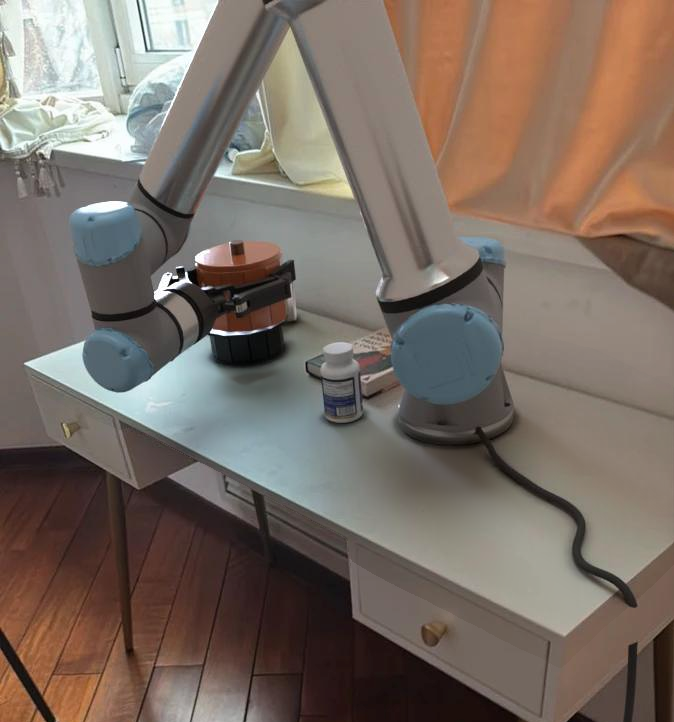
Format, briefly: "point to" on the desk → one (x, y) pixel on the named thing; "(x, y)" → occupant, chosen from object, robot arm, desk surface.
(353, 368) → the pill bottle
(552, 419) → the desk surface
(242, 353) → the black flanged round holder
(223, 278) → the lidded pot
